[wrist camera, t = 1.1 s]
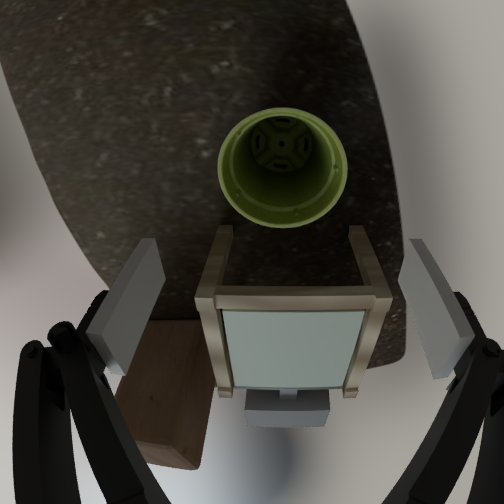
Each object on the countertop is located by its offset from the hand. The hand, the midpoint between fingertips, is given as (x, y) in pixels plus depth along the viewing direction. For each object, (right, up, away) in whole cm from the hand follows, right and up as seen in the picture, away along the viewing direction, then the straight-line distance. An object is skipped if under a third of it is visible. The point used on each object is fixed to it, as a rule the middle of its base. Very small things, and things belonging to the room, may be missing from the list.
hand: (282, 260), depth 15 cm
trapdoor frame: (+3, -3, +22) cm, 23 cm away
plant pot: (+1, +11, +13) cm, 17 cm away
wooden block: (-12, -13, +31) cm, 36 cm away
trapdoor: (+3, -12, +17) cm, 21 cm away
